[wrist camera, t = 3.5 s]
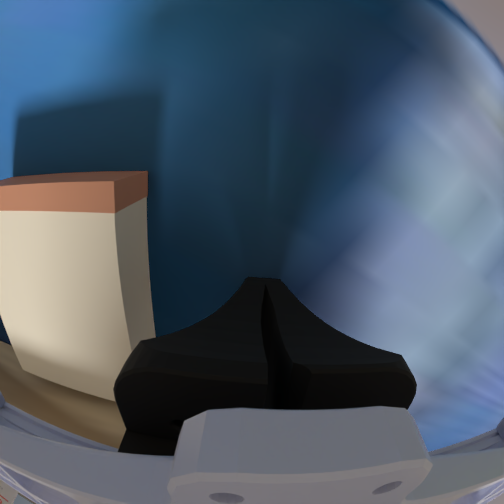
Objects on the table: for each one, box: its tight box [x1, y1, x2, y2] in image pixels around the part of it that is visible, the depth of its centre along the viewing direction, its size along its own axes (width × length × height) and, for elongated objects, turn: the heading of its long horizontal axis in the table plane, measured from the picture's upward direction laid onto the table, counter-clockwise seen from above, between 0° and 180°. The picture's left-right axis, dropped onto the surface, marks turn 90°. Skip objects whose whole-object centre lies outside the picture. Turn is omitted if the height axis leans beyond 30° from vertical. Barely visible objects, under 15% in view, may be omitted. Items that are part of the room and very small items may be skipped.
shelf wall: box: [0, 341, 126, 449], centre depth 12 cm, size 1×20×6 cm, turn 86°
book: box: [0, 171, 156, 402], centre depth 11 cm, size 10×8×3 cm
